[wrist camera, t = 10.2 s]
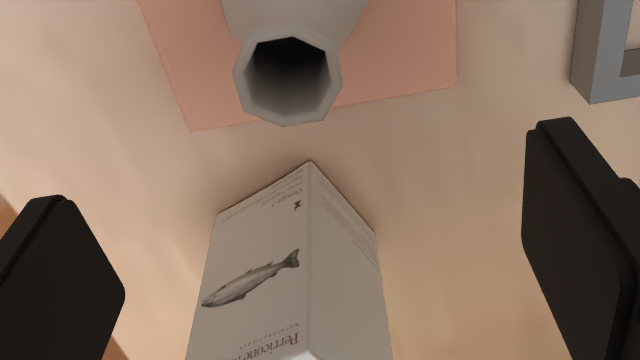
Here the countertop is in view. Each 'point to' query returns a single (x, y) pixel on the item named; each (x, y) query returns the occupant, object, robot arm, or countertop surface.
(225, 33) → the plate
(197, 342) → the supplement box
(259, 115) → the flask
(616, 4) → the case
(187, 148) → the countertop surface
